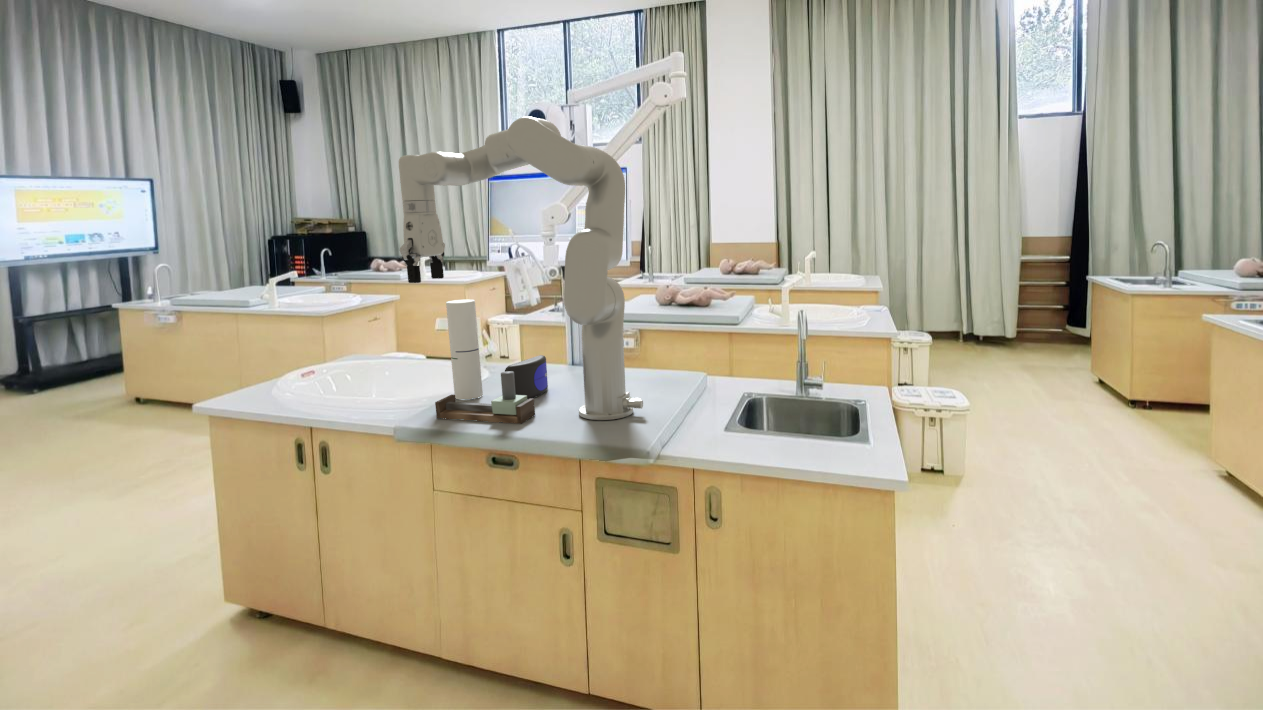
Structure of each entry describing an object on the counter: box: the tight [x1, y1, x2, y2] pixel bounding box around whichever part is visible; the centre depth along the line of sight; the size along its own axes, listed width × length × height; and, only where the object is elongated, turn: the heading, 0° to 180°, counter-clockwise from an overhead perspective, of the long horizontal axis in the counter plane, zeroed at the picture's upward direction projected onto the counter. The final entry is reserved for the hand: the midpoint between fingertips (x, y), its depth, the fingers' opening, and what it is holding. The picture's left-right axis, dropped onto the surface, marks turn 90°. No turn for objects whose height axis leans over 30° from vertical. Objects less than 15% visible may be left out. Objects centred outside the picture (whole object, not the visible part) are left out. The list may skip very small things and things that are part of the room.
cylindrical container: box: [445, 299, 484, 399], centre depth 187 cm, size 7×7×25 cm
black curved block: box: [504, 354, 549, 399], centre depth 187 cm, size 16×5×9 cm, turn 151°
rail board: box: [434, 394, 536, 425], centre depth 170 cm, size 22×7×4 cm, turn 72°
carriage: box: [490, 371, 527, 415], centre depth 167 cm, size 6×6×9 cm
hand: (426, 280), depth 177 cm, fingers open, 9 cm apart
